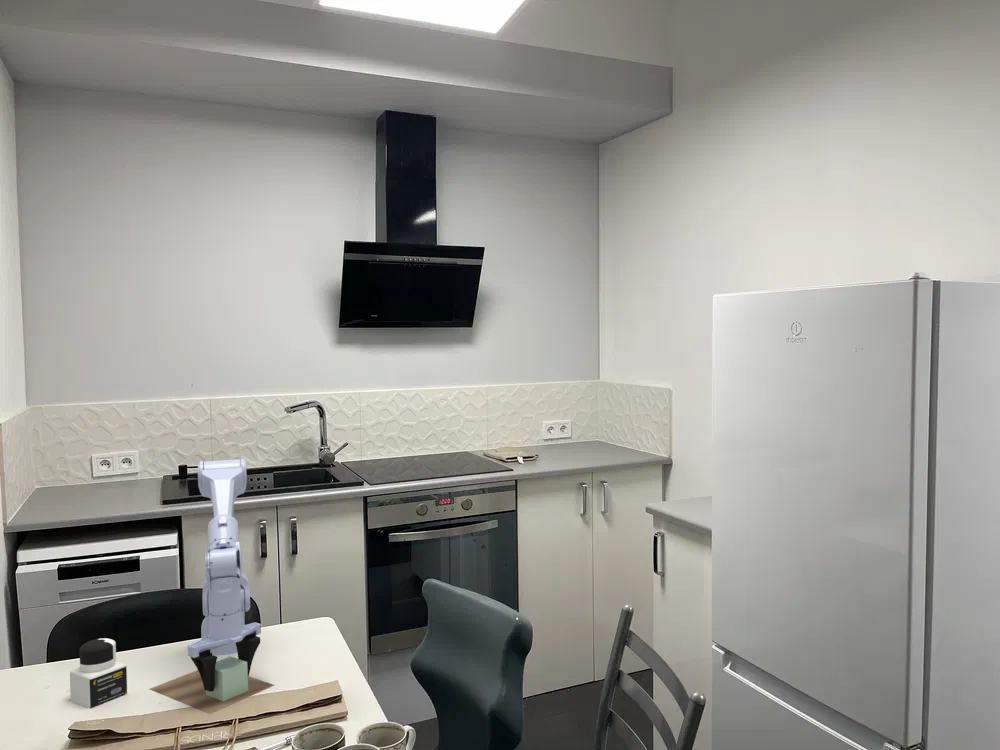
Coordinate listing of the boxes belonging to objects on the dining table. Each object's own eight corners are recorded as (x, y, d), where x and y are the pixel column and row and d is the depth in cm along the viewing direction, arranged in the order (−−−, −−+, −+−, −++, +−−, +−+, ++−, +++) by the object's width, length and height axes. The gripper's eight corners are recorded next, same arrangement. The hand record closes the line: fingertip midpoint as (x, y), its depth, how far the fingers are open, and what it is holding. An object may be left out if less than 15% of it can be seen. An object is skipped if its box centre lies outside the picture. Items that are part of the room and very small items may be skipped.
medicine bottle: (90, 716, 134) (89, 651, 134) (70, 708, 138) (68, 644, 138) (128, 701, 140) (126, 638, 140) (107, 693, 144) (105, 632, 144)
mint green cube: (206, 694, 138) (205, 665, 138) (231, 684, 143) (230, 656, 143) (223, 701, 135) (222, 671, 135) (248, 690, 140) (247, 661, 140)
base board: (149, 696, 142) (148, 673, 142) (213, 671, 153) (212, 649, 153) (210, 722, 130) (209, 697, 130) (274, 692, 142) (274, 669, 142)
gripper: (202, 626, 131) (205, 702, 131) (270, 604, 143) (272, 673, 143) (180, 619, 135) (182, 693, 135) (247, 598, 147) (249, 666, 147)
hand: (227, 682), depth 139 cm, fingers open, 7 cm apart
